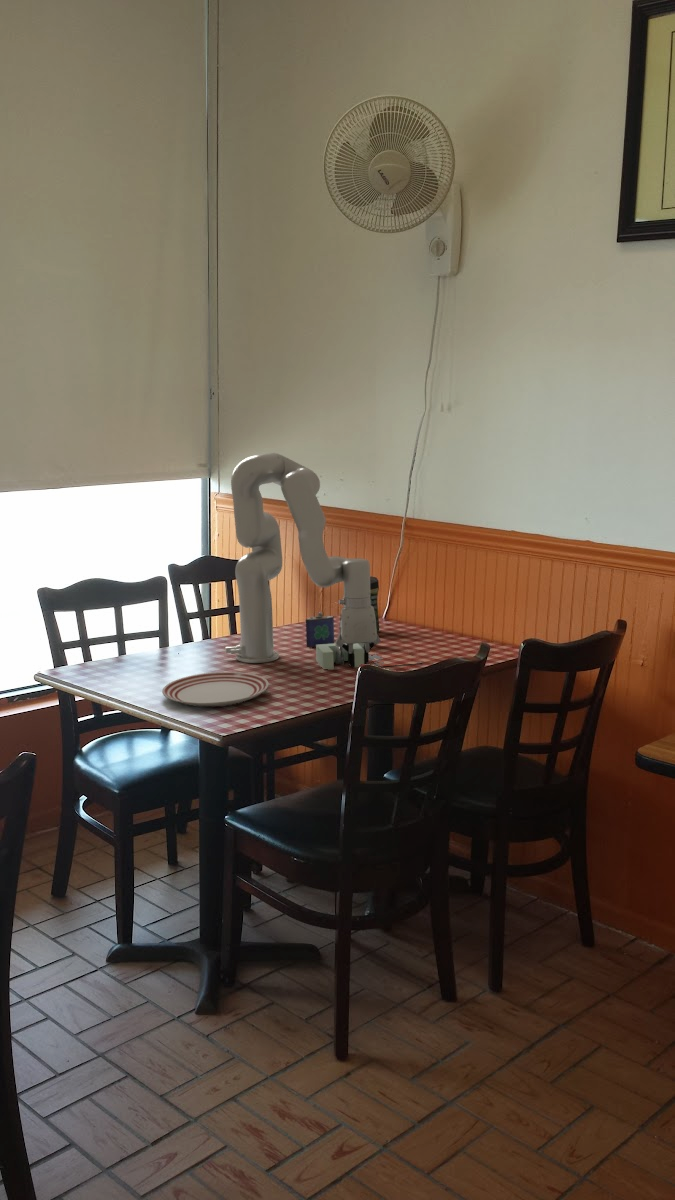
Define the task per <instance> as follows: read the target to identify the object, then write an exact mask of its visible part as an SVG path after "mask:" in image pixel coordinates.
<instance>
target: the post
mask: <svg viewBox="0 0 675 1200" xmlns="http://www.w3.org/2000/svg"><path fill="white" fill-rule="evenodd" d="M342 643H344V642H343V641H342ZM335 646H336V663H335V664H336V665H337V664H343V665H345V662H344V648H342V647H340V646H337V645H336V644H335Z"/></svg>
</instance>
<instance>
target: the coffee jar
mask: <svg viewBox="0 0 675 1200" xmlns="http://www.w3.org/2000/svg"><path fill="white" fill-rule="evenodd" d="M379 582H380V581H379V579H378V578H377V576H376V577H375V576H371V575H370V600H371V606H372V607H374V612H375V618H376V629H377V634H378V633H379V632H380V619H379V605H378V596H379V595H378V594H379V591H380V588H379V587H380V584H379Z"/></svg>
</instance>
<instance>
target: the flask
mask: <svg viewBox="0 0 675 1200" xmlns="http://www.w3.org/2000/svg"><path fill="white" fill-rule="evenodd" d="M323 614H324V613H323V612H322V611H319V612H318V615H316V616H310V617H308V618H305V636H306V637H305V639H306V640H305V641H306V648H307V647H316V645H318V644H332V643H335V642H336V641H335V619H334V618H335V617H334V616H333V615H327V616H324V615H323Z"/></svg>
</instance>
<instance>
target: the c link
mask: <svg viewBox="0 0 675 1200" xmlns="http://www.w3.org/2000/svg"><path fill="white" fill-rule="evenodd" d="M344 644H346V643H344ZM346 645H347V644H346ZM353 653H354V657H355V667H354V668H360V667H359V665H361V664H364V648H363V647H361V646H360V645H359V644H358V643H357V644H353ZM315 654H316V655H315V659H316V663H317V662H318V663H319V664H318V663H317V664H318V665H319V666H320V668H321V667H322V668H323V669H328V670H334V669H335V668H334V666H335V664H334V662H336V646H335V643H332V644H318V645H316V648H315ZM344 661H348V652H347V651H346V650H345V649H344ZM356 666H357V667H356ZM322 668H321V669H322ZM323 669H322V670H323Z"/></svg>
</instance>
